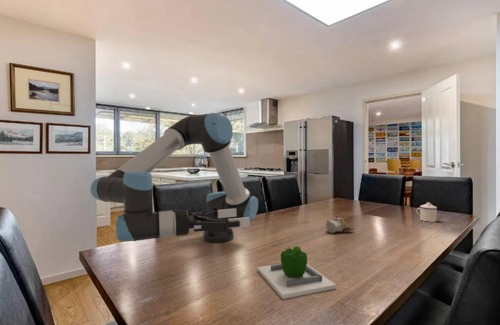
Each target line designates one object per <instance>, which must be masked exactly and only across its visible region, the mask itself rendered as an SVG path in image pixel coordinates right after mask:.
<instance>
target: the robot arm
mask: <svg viewBox="0 0 500 325" xmlns="http://www.w3.org/2000/svg"><path fill="white" fill-rule="evenodd" d="M233 131H234V129H233V125H232V122H231V120H230V119H229V117H228V116H226V115H225V114H223V113H219V112H217V113H216V112H210V113H204V114H195V115H194V114H193V115H188V116H186V117H183V118H181V119H179V120H178V121H177V122H175V123H173V124H172V125H170V126H169V127H168V128H166V129H165V130H164V132H163V135H162V136H160V137H159V138H158V139H156V140H155V141H153V142H152V143H151V144H149V145H148V146H147V147H145V148H144V149H142V150H141V151H140V152H138V153H137V154H136V155H134V156H133V157H132V158H131V159H129V160H128V161H126V162H125V163H124V164H122V165H121V166H119V168H117V169H116V170H115V171H113V172H111V173H110V174H109V175H107V176H100V177H97V178H95V179H94V180H93V181H92V183H91V185H90V193H91V195H92V197H93V198H94V199H95V200H98V201H102V202H105V203H116V204H117V203H118V204H123V213H122V214H119V215H117V217H116V222H115V236H116V239H117V241H119V242H121V243H123V242H137V241H145V240H153V239H154V240H155V239H161V238H163V240H165V239H167V238H170V237H174V236H177V237H179V236H181V237H182V236H188V235H189V233H190V229H193V232H194V233H195V232H196V233H197V232H203V234H202V237H203V238H202V239H203V241H206V242H208V243H214V244H215V243H227V242H229V241H231V240H233V239H234V230H233V229H240V228H247V227H250V226H251V225H250V224H251V223H250V222H251V221H253V220H254V219H255V218H256V216H257V213H258V210H259V199H258V197H257V196H255V195H251V193H250V191H249V189H248V188H247V187H245V186H244V183H243V180H242V178H241V176H240V175H241V174H240V172H239V170H238V169H239V168H238V167H237V164H236V162H235V160H234V157H233V153H232V151H231V149H230V145H231V143H232V138H233V136H234V135H233V134H234V132H233ZM191 145H201V147H202V149H203V151H204V152H205V153H206V154H209V156H210V158H211V161H212V163H213V165H214V166H213V167H215V170H216V172H217V176H218V177H219V180H220V182H221V184H222V186H223V188H224V191H216V192H210V193H208V194H207V195H206V202H205V203H206V208H205V210H201V211H196V212H189V211H188V209H178V210H177V209H176V210H175V211H173V210H162V211H153V210H154V207H153V204H154V202H153V201H154V200H153V198H154V196H153V192H154V191H153V190H154V189H153V188H154V184H153V176H152V173H151V172H152V171H154V169H156V168H157V167H159V165H161V164H162V163H164V161H165V160H167V159H168V158H169V157H170V156H172V155H173V154H174V153H175V152H176V151H182V150H183V149H184V148H185V147H187V146H191Z"/></svg>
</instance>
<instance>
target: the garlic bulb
mask: <svg viewBox="0 0 500 325" xmlns="http://www.w3.org/2000/svg"><path fill="white" fill-rule="evenodd" d="M345 221H346V220H344V219H343V218H340V217H339V216H337V215H336V216H334V217H333V218H332V219H331V220H330V219H326V223H325V228H326V230H327V232H329V233H331V234H334V233H336V232H337V233H340V232H349V231H353V230H354V229H355V227H351V226H348V225H346V222H345Z"/></svg>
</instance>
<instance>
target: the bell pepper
mask: <svg viewBox="0 0 500 325" xmlns="http://www.w3.org/2000/svg"><path fill="white" fill-rule="evenodd" d="M301 249H302V248H301V246H298V245H296V246H294V247H293V248H290V247H288V248H286V249H285V250H284V251H281V253H280V264H282V268H283V272H284V273H285V275H286V276H288V277H296V278H300V277H302V276H303V274H304V273H305V269H306V265H307V264H308V255H307V253H306V252H305V251H302V250H301Z"/></svg>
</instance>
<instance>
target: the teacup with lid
mask: <svg viewBox="0 0 500 325" xmlns="http://www.w3.org/2000/svg"><path fill="white" fill-rule="evenodd" d="M437 209H438V207H437V206H435V205H433V204H432V203H431V202H428V201H427V202H426V203H425V204H421V205H420V206H419V207H417V208H416V213H417V215H418V216H419V217H420V218H419V219H420V220H419V221H421V220H423V221H422V222H424V221H429V222H428V223H436V222H435V221H437V218H438V216H437V215H438V213H437V212H438V210H437Z"/></svg>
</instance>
